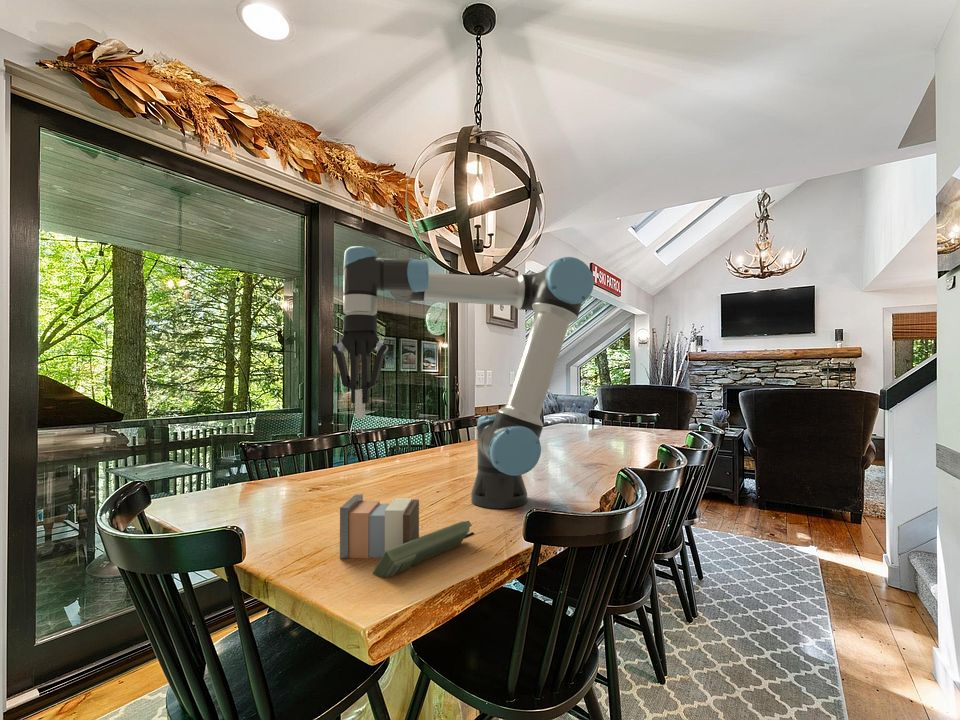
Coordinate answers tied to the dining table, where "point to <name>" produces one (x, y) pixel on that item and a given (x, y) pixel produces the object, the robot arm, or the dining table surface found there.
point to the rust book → (360, 529)
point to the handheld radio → (421, 549)
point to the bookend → (347, 524)
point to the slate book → (377, 531)
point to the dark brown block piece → (411, 522)
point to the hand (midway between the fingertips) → (360, 417)
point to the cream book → (395, 522)
